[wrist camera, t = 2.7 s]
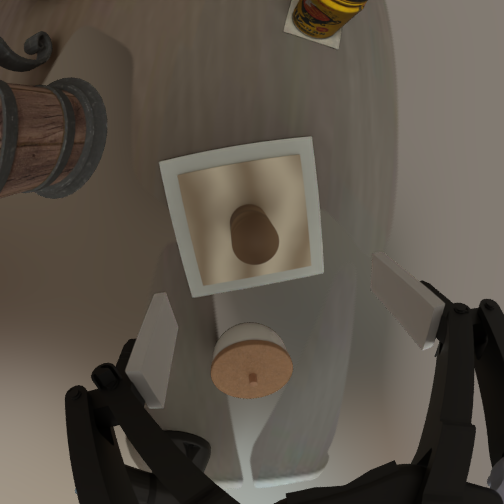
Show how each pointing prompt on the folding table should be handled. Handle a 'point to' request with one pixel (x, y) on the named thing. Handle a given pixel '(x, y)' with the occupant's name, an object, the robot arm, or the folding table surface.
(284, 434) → the folding table surface
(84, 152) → the tankard
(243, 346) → the lidded jar
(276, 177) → the lid
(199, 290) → the mat
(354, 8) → the condiment
